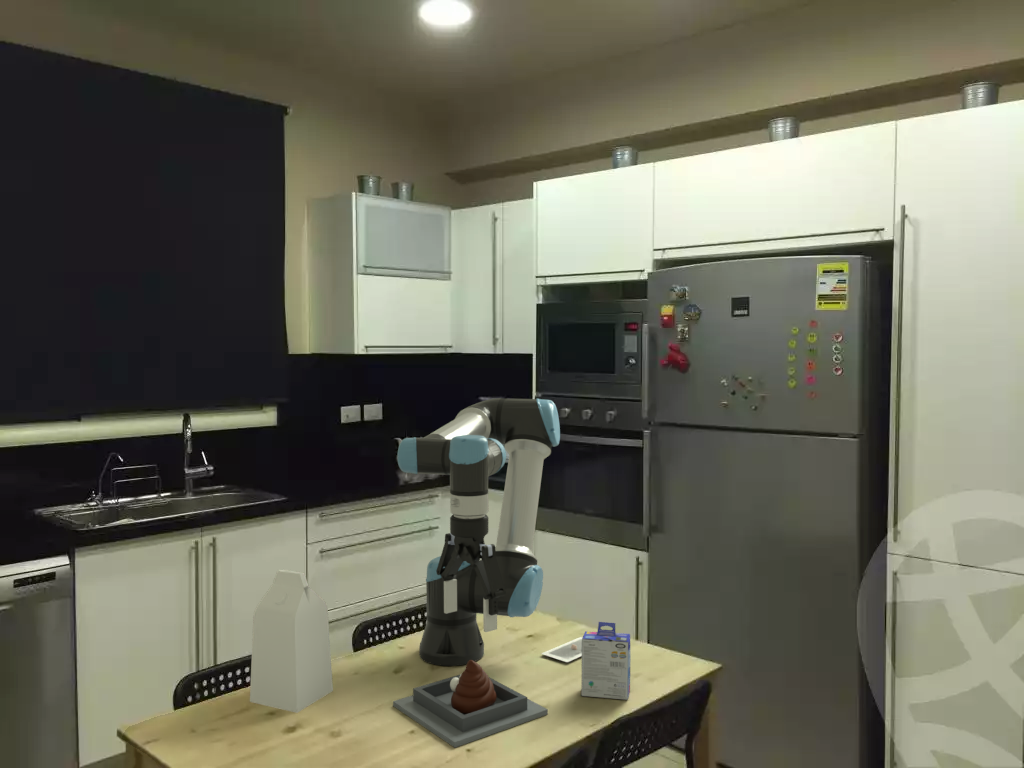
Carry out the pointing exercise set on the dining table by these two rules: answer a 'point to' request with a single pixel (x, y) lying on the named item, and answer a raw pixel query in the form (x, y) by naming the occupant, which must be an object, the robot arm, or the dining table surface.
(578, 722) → the dining table surface
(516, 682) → the dining table surface
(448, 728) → the pocket plate
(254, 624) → the milk
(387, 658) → the dining table surface
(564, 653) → the touchpad
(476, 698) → the poop emoji
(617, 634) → the ink cartridge box
